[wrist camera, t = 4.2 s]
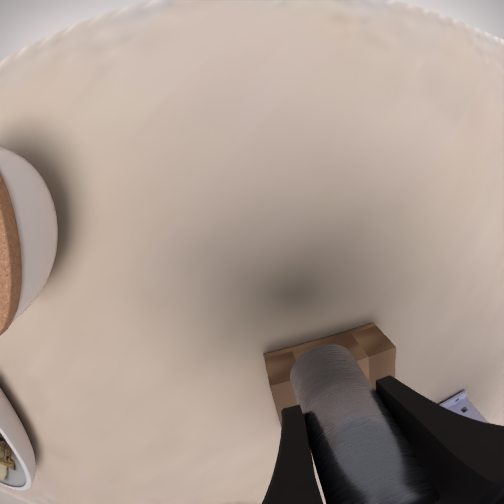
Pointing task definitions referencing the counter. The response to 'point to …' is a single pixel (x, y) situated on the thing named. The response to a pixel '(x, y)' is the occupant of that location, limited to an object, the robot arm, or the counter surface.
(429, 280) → the counter surface
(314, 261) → the counter surface
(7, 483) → the bowl
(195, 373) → the counter surface
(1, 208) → the lidded jar
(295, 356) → the socket block
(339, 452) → the pin
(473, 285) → the counter surface
